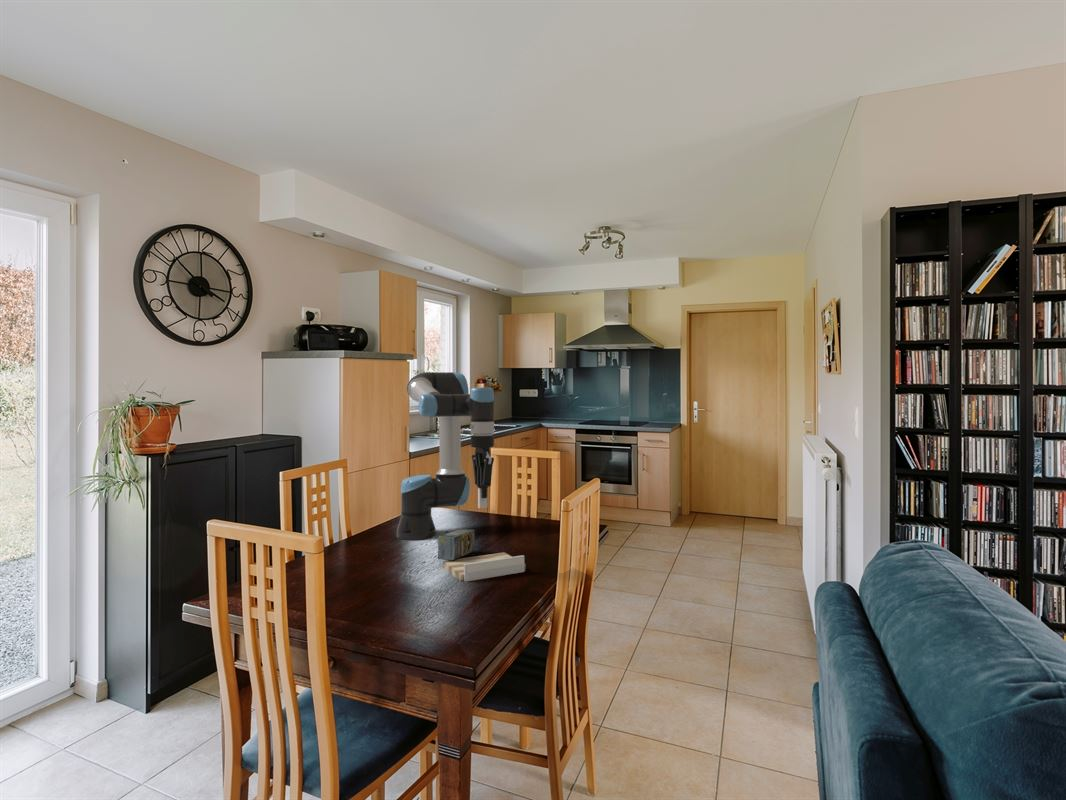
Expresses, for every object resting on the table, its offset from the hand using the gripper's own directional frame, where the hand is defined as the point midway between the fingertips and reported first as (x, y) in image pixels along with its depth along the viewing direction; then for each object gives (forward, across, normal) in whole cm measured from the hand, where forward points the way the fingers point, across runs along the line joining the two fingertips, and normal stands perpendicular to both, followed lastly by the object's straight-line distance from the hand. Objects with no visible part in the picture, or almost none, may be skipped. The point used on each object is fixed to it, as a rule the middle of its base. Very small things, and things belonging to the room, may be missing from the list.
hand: (482, 507), depth 178 cm
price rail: (+20, +9, 0) cm, 22 cm away
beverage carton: (+21, -18, +2) cm, 28 cm away
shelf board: (+20, +1, 0) cm, 20 cm away
